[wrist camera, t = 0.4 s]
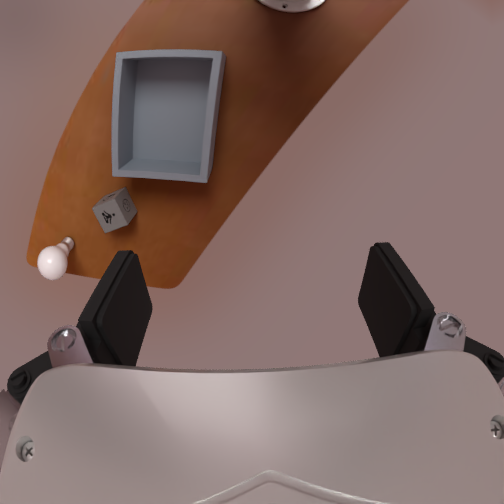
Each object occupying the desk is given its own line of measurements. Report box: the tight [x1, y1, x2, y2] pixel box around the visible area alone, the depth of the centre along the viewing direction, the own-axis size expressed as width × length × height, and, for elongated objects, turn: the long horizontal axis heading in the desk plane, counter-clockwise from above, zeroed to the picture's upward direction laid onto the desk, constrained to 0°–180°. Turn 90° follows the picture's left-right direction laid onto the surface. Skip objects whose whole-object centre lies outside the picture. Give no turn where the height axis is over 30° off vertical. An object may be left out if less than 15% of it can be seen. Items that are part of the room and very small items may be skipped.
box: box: [112, 50, 226, 183], centre depth 35 cm, size 18×14×7 cm
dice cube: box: [92, 187, 137, 233], centre depth 45 cm, size 5×5×5 cm
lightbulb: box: [37, 237, 74, 280], centre depth 46 cm, size 6×6×11 cm
